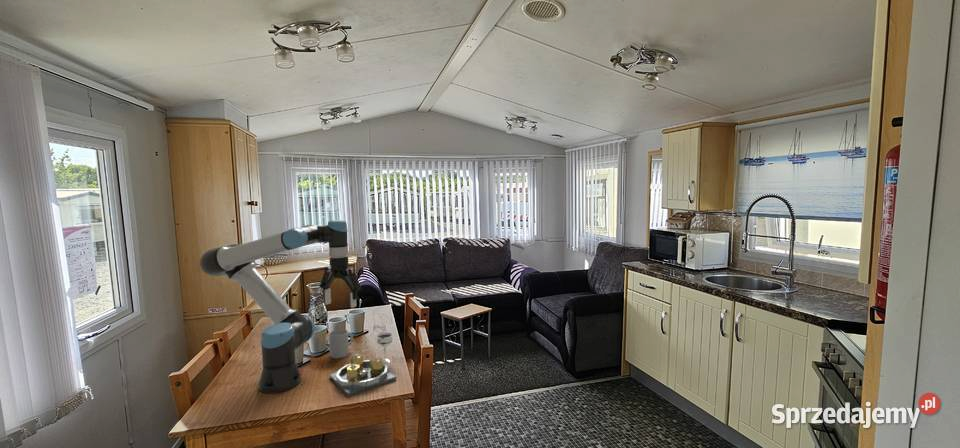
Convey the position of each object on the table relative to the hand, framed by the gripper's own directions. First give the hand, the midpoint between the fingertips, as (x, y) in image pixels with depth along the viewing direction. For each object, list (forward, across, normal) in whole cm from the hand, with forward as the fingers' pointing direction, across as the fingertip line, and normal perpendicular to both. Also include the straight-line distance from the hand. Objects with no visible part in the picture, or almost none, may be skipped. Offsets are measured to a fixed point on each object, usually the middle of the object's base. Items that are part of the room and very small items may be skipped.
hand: (340, 305), depth 164 cm
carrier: (+29, -13, +4) cm, 32 cm away
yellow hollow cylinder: (+27, -14, +10) cm, 32 cm away
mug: (+29, +12, -14) cm, 34 cm away
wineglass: (+29, -12, -14) cm, 34 cm away
